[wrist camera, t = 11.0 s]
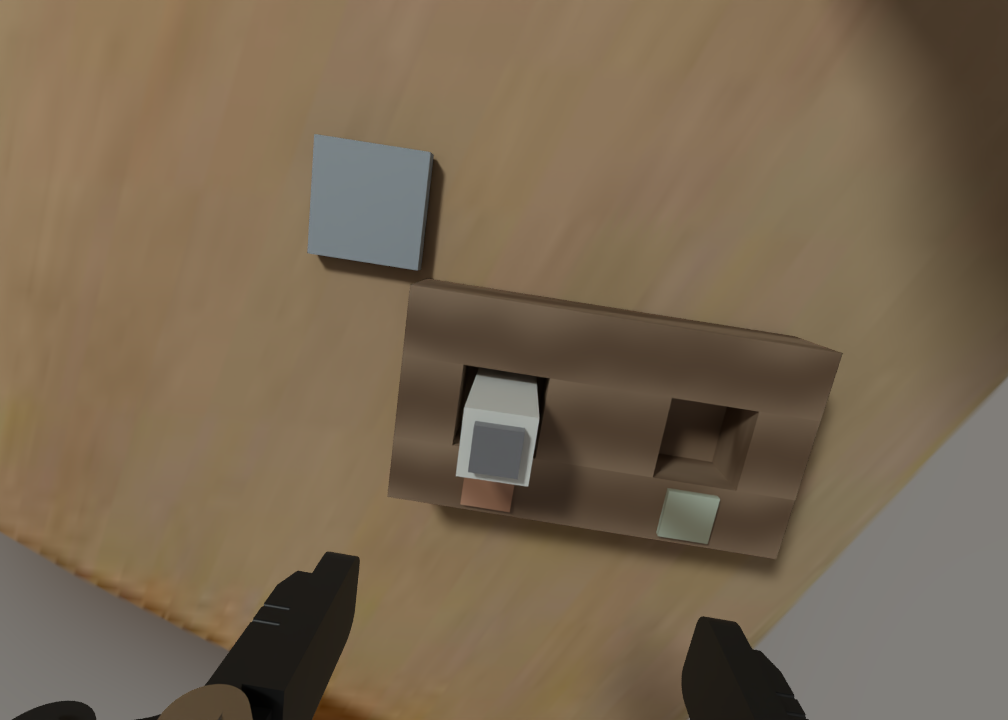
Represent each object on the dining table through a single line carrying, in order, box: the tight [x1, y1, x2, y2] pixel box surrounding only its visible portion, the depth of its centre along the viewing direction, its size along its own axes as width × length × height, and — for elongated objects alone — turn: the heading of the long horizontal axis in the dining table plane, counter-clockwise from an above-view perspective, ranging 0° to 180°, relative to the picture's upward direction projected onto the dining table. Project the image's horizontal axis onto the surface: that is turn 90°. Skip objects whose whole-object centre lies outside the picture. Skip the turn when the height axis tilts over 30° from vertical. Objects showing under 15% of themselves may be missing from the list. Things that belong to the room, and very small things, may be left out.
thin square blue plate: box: [308, 134, 434, 270], centre depth 31 cm, size 7×7×1 cm
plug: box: [456, 367, 539, 487], centre depth 28 cm, size 4×4×10 cm
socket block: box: [387, 279, 843, 559], centre depth 31 cm, size 13×24×5 cm, turn 81°
